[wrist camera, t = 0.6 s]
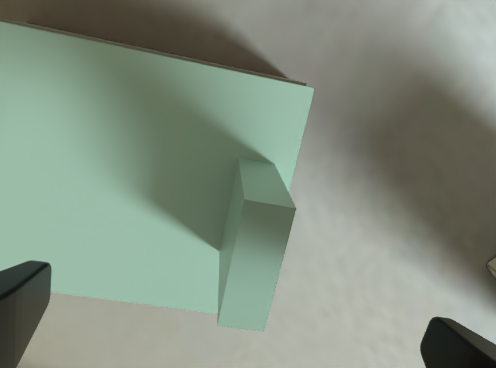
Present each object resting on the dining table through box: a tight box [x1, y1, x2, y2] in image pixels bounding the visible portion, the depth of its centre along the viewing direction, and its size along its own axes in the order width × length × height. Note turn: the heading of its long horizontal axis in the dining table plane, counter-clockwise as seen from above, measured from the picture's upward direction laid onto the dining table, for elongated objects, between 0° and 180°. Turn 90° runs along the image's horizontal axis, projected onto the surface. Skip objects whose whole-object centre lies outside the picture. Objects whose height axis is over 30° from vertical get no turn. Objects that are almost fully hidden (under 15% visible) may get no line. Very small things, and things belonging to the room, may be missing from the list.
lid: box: [0, 22, 315, 332], centre depth 12 cm, size 10×12×5 cm
